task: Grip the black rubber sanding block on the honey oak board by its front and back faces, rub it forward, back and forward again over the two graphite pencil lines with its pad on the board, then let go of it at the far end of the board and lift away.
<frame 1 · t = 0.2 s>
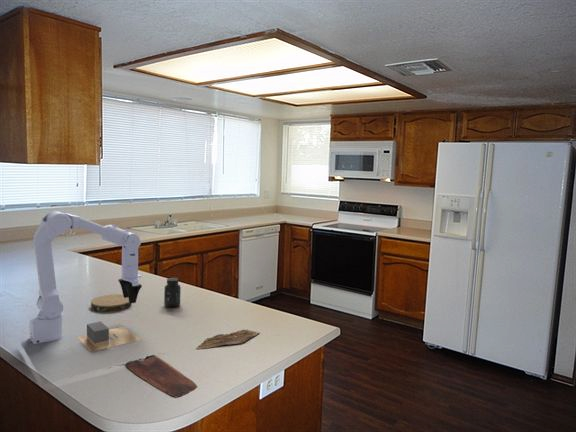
hand: (129, 300, 158), 10 cm above the worktop, tool pointing down, fingers open, 7 cm apart
oak board: (108, 342, 143), on the worktop
supplement bottle: (172, 306, 183), on the worktop
sanding block: (97, 340, 141), point 1 cm above the worktop, touching oak board
wooden fragment: (228, 341, 150), on the worktop
wooden tablet: (161, 378, 122), on the worktop
wood log slice: (111, 307, 180), on the worktop
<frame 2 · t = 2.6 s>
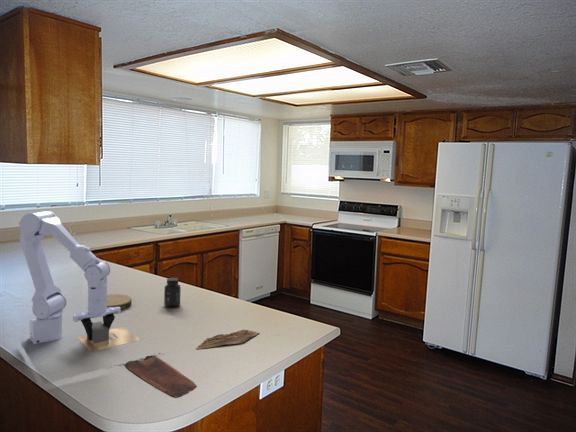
hand: (97, 337, 140), 3 cm above the worktop, tool pointing down, fingers closed on sanding block, 4 cm apart
sanding block: (97, 340, 141), point 1 cm above the worktop, touching gripper, oak board
everything else where it was.
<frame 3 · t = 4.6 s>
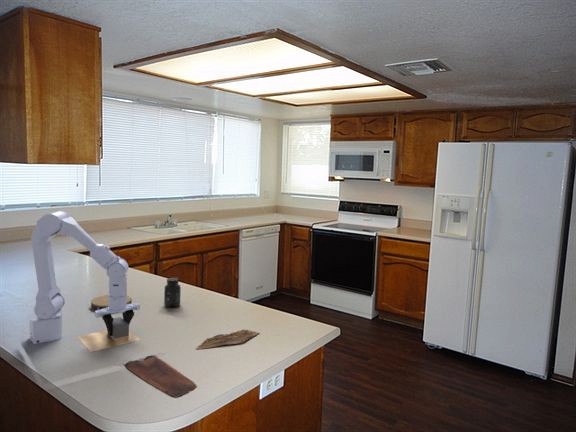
hand: (117, 333, 145), 3 cm above the worktop, tool pointing down, fingers closed on sanding block, 4 cm apart
sanding block: (117, 335, 145), point 2 cm above the worktop, touching gripper
everything else where it was.
when the fingers open (2 cm above the worktop, at t = 9.1 s): sanding block stays where it is, resting on oak board.
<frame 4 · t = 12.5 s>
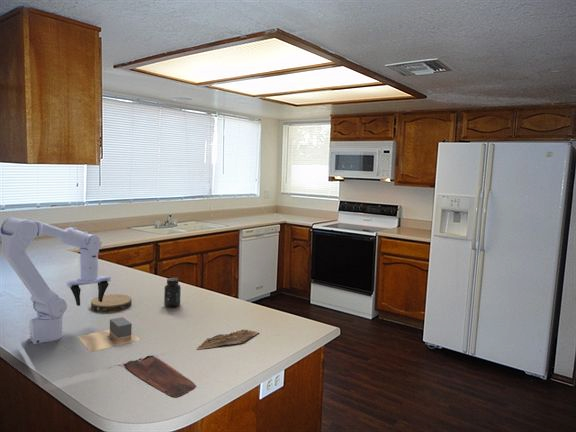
hand: (89, 303, 154), 9 cm above the worktop, tool pointing down, fingers open, 7 cm apart
sanding block: (120, 335, 146), point 2 cm above the worktop, touching oak board
everything else where it was.
at the end: sanding block 0.0 cm from the target spot, point 1.5 cm above the worktop; the gripper is holding nothing; sanding block tilted 1° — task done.
